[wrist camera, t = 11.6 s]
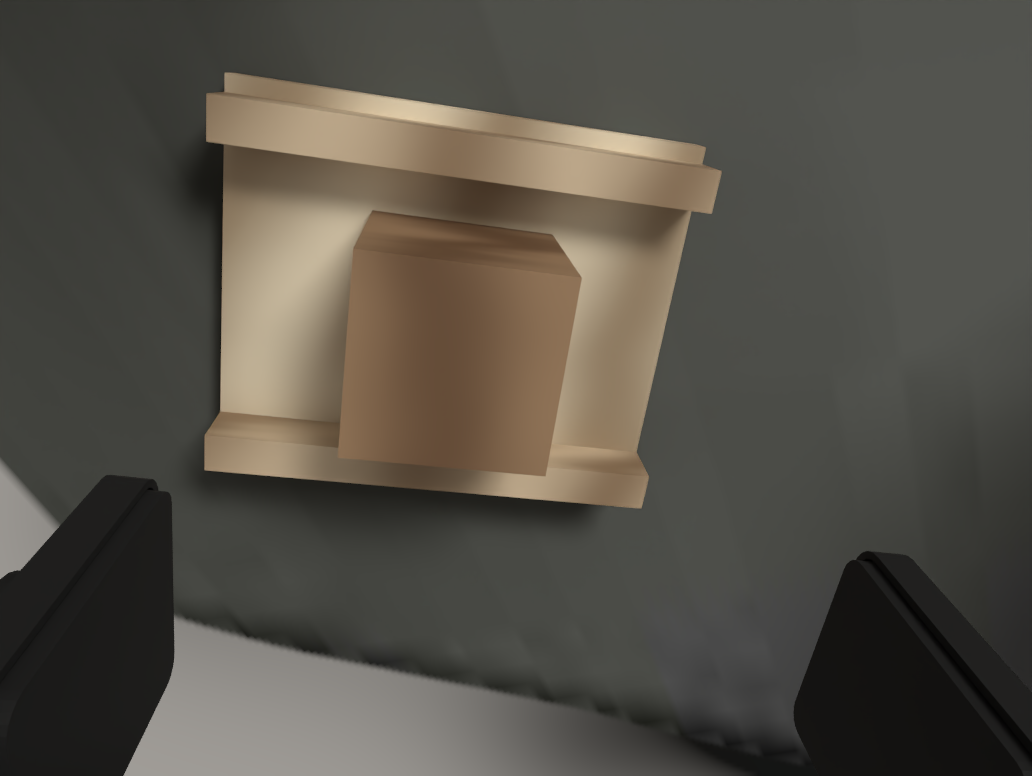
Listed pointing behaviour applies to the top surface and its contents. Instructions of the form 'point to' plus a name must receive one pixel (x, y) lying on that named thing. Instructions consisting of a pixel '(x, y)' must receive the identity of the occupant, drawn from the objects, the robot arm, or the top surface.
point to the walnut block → (455, 344)
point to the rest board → (448, 196)
